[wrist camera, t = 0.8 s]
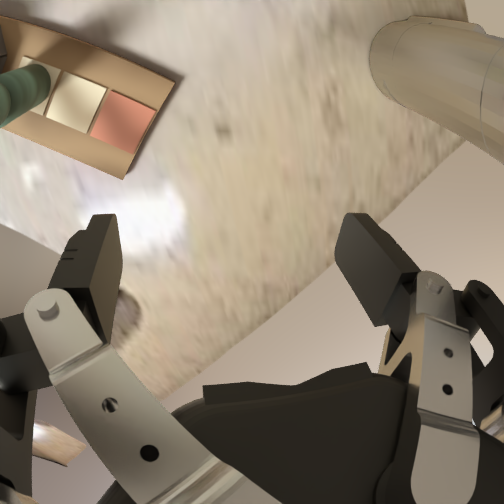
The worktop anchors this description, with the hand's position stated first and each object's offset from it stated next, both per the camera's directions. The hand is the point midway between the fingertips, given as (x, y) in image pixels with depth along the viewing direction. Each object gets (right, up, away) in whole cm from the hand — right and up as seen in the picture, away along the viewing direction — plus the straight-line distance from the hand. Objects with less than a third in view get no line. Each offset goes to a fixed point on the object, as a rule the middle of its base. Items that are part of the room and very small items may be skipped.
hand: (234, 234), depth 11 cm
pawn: (-18, +13, +8) cm, 24 cm away
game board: (-19, +14, +8) cm, 25 cm away
